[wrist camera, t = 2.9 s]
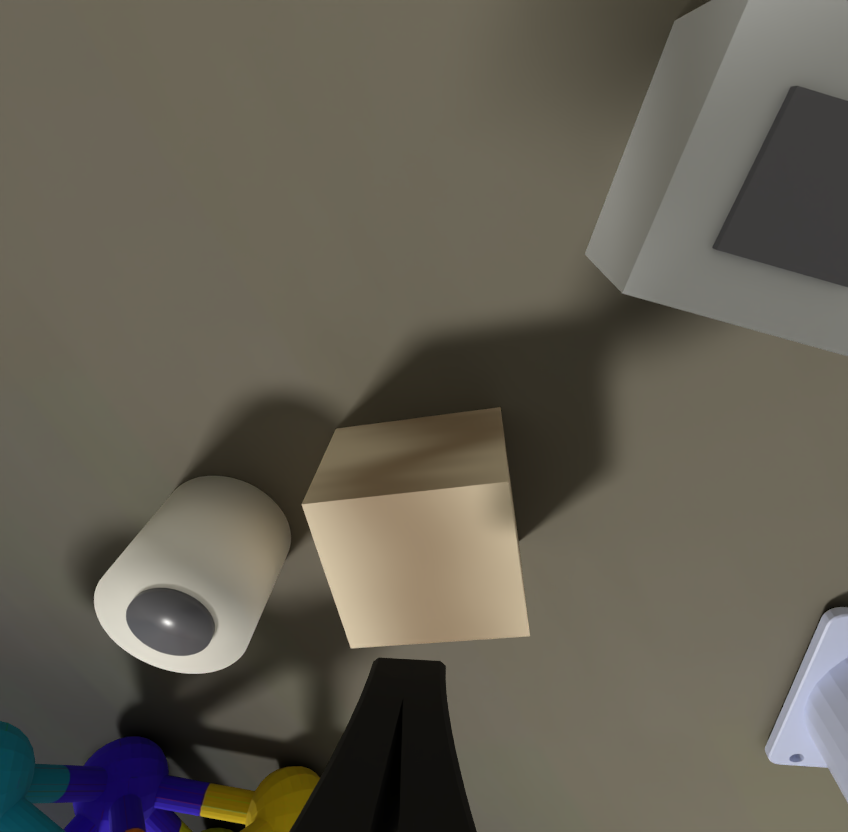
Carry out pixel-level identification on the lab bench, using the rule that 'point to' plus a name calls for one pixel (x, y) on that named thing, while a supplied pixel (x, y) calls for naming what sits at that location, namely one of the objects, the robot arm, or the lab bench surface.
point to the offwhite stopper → (196, 576)
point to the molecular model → (137, 792)
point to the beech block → (420, 531)
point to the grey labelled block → (740, 173)
